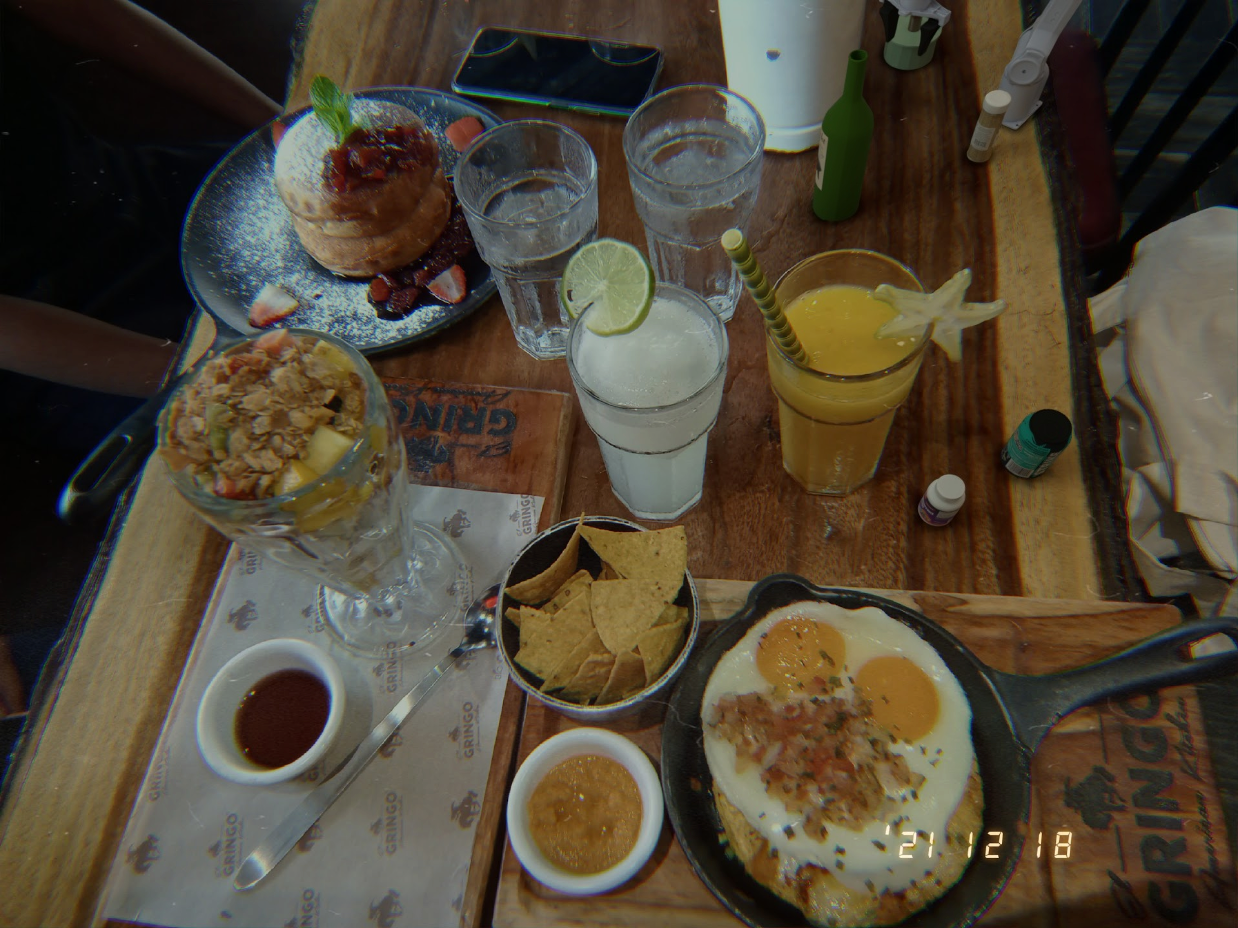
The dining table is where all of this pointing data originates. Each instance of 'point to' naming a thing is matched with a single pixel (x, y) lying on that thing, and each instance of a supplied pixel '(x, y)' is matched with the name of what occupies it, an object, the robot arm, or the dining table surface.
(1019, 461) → the teal spice jar
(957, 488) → the pill bottle
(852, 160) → the wine bottle
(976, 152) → the sprinkles bottle
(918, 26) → the canister lid
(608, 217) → the dining table surface
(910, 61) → the canister
